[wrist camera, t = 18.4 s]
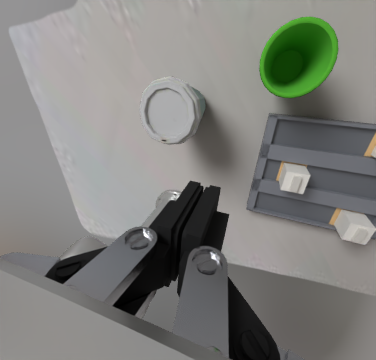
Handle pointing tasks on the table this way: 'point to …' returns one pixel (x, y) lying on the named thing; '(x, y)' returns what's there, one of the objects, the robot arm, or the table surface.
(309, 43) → the cup
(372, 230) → the white stepped block
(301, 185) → the white stepped block
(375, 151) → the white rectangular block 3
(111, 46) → the table surface
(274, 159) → the switch board
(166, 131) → the disposable coffee cup
